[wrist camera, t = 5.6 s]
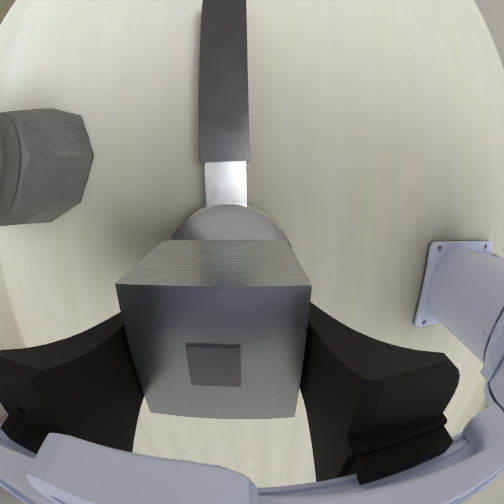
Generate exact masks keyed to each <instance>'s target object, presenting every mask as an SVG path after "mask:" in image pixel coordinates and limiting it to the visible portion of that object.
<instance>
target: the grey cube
mask: <svg viewBox="0 0 504 504" xmlns="http://www.w3.org/2000/svg"><path fill="white" fill-rule="evenodd" d="M115 285H116V290H117V296H118V301H119V306H120V310H121V315H122V319H123V324H124V328H125V332H126V336H127V340H128V343H129V347H130V351H131V354H132V358H133V361H134V365H135V368H136V371H137V374H138V378H139V381H140V384H141V387H142V390H143V393H144V396H145V398H146V401H147V404H148V407H149V409H150V412H153V413H160V414H168V415H176V416H187V417H199V418H217V419H270V418H288V417H294V416H295V410H296V405H297V399H298V392H299V386H300V380H301V373H302V366H303V359H304V351H305V343H306V335H307V327H308V318H309V308H310V298H311V287H312V285H311V283H310V281H309V280H308V278H307V276H306V274H305V272H304V271H303V269H302V267H301V265H300V264H299V262H298V260H297V258H296V257H295V255H294V253H293V251H292V250H291V248H290V246H289V245H288V243H287V241H286V240H164V241H162V242H161V243H160V244H159V245H158V246H157V247H155V248H154V249H153V250H152V251H151V252H150V253H149V254H147V255H146V256H145V257H144V258H143V259H142V260H141V261H140V262H138V263H137V264H136V265H135V266H134V267H133V268H132V269H131V270H130V271H129V272H127V273H126V274H125V275H124V276H123V277H122V278H121V279H120V280H119V281H118V282H117V283H116V284H115Z"/></svg>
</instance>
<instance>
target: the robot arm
mask: <svg viewBox="0 0 504 504" xmlns="http://www.w3.org/2000/svg"><path fill="white" fill-rule="evenodd" d="M438 247H439V249H438ZM492 249H493V243H492V242H491V241H434V242H432V243H431V245H430V247H429V254H428V260H427V266H426V272H425V277H424V282H423V287H422V292H421V296H420V301H419V305H418V309H417V313H416V317H415V321H414V325H415V326H416V327H423V326H428V325H432V324H437V323H441V324H443V325H444V326H445V327H446V328H447V329H448V330H449V331H450V332H451V333H452V334H453V335H454V336H455V337H457V338H458V339H459V340H460V341H461V342H462V343H463V344H464V345H465V346H466V347H467V348H468V349H469V350H470V351H471V352H472V353H473V354H474V355H475V356H476V357H477V358H478V359H479V360H480V361H481V362H482V363H483V364H484V365H483V368H482V370H481V372H480V373H481V374H482V375H483V376H484V378H485V379H486V380H487V381H486V383H485V386H484V396H485V400H486V403H487V406H488V407H487V408H486V409H484V410H482V411H481V412H479V413H478V414H476V415H475V416H474V417H473V418H472V419H471V420H470V421H469V422H468V423H467V425H466V426H465V428H464V429H463V432H461V433H459V434H457V435H455V436H454V437H452V438H451V436H450V435H449V433H448V432H447V430H446V428H445V427H444V425H445V424H446V423H447V419H446V417H445V416H444V414H443V412H444V410H445V408H446V407H447V405H448V403H449V402H450V400H451V398H452V396H453V394H454V393H455V390H456V388H457V386H458V382H459V377H460V374H459V370H458V368H457V367H456V366H455V365H454V364H453V363H452V362H451V361H450V359H449V358H448V357H447V356H446V355H445V354H444V353H439V352H428V351H419V350H413V349H408V348H403V347H399V346H395V345H391V344H388V343H385V342H382V341H379V340H376V339H373V338H371V337H368V336H366V335H364V334H361V333H359V332H357V331H355V330H353V329H351V328H349V327H347V326H346V325H344V324H342V323H340V322H339V321H337V320H336V319H334V318H332V317H331V316H329V315H328V314H326V313H325V312H324V311H322V310H321V309H319V308H318V307H317V306H315V305H314V304H312V303H311V302H310V308H309V318H308V327H307V335H306V343H305V351H304V359H303V366H302V373H301V380H300V386H299V387H300V390H301V393H302V396H303V400H304V403H305V407H306V412H307V418H308V424H309V429H310V436H311V442H312V449H313V457H314V464H315V473H316V482H313V483H307V484H299V485H291V486H281V487H269V488H257V487H256V486H255V484H254V483H253V482H252V481H251V480H250V479H249V478H248V477H247V476H245V475H244V474H241V473H238V472H235V471H232V470H230V469H227V468H224V467H222V466H217V465H210V464H204V463H198V462H192V461H185V460H176V459H168V458H160V457H154V456H148V455H142V454H137V453H132V450H133V442H134V436H135V431H136V425H137V420H138V416H139V412H140V407H141V404H142V401H143V398H144V393H143V390H142V387H141V384H140V381H139V378H138V374H137V371H136V368H135V365H134V361H133V358H132V354H131V351H130V347H129V343H128V340H127V336H126V332H125V328H124V324H123V319H122V315H121V312H120V313H118V314H116V315H115V316H113V317H111V318H109V319H108V320H106V321H104V322H102V323H100V324H98V325H96V326H94V327H92V328H90V329H88V330H86V331H84V332H82V333H79V334H77V335H74V336H72V337H69V338H66V339H63V340H59V341H56V342H53V343H49V344H45V345H41V346H36V347H30V348H23V349H10V350H1V351H0V403H1V404H2V406H3V407H4V409H5V410H6V411H7V413H8V414H9V416H8V417H7V418H6V420H5V422H4V423H3V424H0V486H1V487H3V488H4V489H5V490H7V491H8V492H10V493H11V494H12V495H14V496H15V497H16V498H18V499H19V500H21V501H22V502H24V503H25V504H461V503H463V502H464V501H465V500H467V499H468V498H470V497H471V496H473V495H474V494H476V493H477V492H479V491H480V490H481V489H483V488H484V487H485V486H487V485H488V484H489V483H490V482H491V481H493V480H494V479H495V478H496V477H497V476H498V475H499V474H500V473H501V472H502V471H504V257H501V256H499V255H497V254H495V253H493V252H492ZM423 320H424V321H423ZM422 321H423V322H422Z"/></svg>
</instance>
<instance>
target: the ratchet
mask: <svg viewBox="0 0 504 504" xmlns="http://www.w3.org/2000/svg"><path fill="white" fill-rule="evenodd" d="M199 138H200V163H203V164H205V190H206V206H205V207H203V208H201V209H200V210H198V211H197V212H195V213H194V214H193V215H191V216H190V217H189V218H188V219H187V220H186V221H185V222H184V223H183V224H182V225H181V226H180V227H179V228H178V229H177V230H176V232H175V233H174V234H173V236H172V238H171V240H286V241H287V243H288V245H289V246H290V244H289V242H288V240H287V238H286V236H285V235H284V233H283V232H282V230H281V229H280V227H279V226H278V224H277V223H276V222H275V221H274V219H273V218H272V217H271V216H269V215H268V214H267V213H266V212H264V211H263V210H261V209H260V208H258V207H255V206H253V205H251V204H247V187H246V162H249V161H250V160H249V114H248V68H247V21H246V0H203V5H202V21H201V41H200V76H199ZM290 248H291V246H290ZM291 250H292V249H291Z"/></svg>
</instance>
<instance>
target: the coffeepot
mask: <svg viewBox="0 0 504 504" xmlns="http://www.w3.org/2000/svg"><path fill="white" fill-rule="evenodd" d="M92 157H93V154H92V150H91V145H90V141H89V137H88V134H87V131H86V129H85V127H84V125H83V123H82V119H81V116H80V115H76V114H72V113H68V112H64V111H60V110H55V109H33V110H20V111H11V112H2V113H0V226H6V225H17V224H30V223H43V222H52V221H53V220H55V219H56V218H57V217H59V216H61V215H62V214H64V213H65V212H67V211H68V210H69V209H70V208H72V207H73V206H75V205H76V204H78V203H79V202H80V200H81V197H82V194H83V191H84V188H85V185H86V183H87V180H88V176H89V171H90V165H91V161H92Z"/></svg>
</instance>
